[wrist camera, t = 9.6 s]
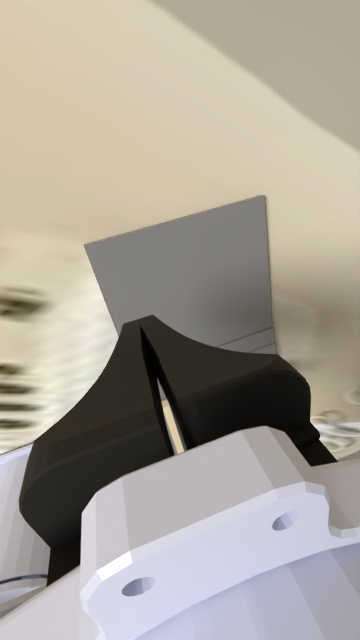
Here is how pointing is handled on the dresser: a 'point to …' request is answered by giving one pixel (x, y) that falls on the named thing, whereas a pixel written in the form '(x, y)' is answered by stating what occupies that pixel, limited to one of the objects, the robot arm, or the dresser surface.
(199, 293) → the dock
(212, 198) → the dresser surface
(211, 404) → the robot arm
